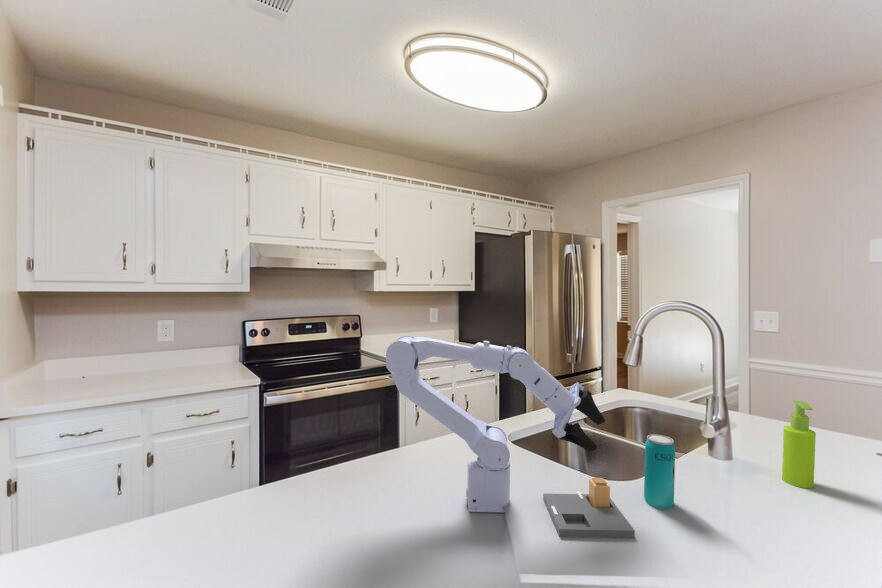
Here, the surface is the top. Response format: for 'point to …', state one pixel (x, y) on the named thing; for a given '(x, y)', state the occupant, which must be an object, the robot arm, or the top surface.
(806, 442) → the soap dispenser
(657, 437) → the beverage can
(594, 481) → the orange plug
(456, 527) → the top surface
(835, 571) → the top surface
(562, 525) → the socket board
